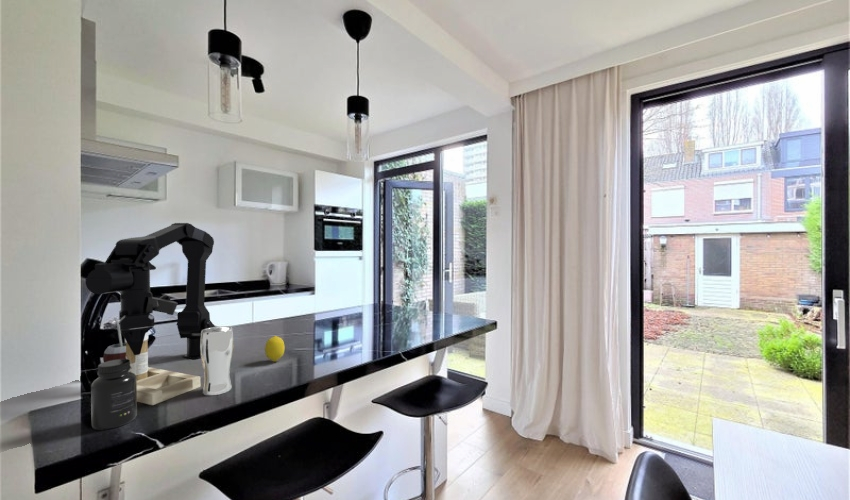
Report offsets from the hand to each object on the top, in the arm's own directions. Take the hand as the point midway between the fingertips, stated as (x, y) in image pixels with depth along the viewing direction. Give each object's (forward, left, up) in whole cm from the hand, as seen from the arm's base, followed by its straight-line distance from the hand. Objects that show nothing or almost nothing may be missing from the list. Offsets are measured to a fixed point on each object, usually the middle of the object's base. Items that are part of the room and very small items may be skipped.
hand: (136, 350), depth 87 cm
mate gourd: (-14, +4, -9) cm, 18 cm away
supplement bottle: (+17, -13, -9) cm, 23 cm away
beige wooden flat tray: (+5, 0, -9) cm, 10 cm away
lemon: (+19, +27, -9) cm, 34 cm away
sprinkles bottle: (0, 0, -9) cm, 9 cm away
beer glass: (+22, +5, -9) cm, 24 cm away
